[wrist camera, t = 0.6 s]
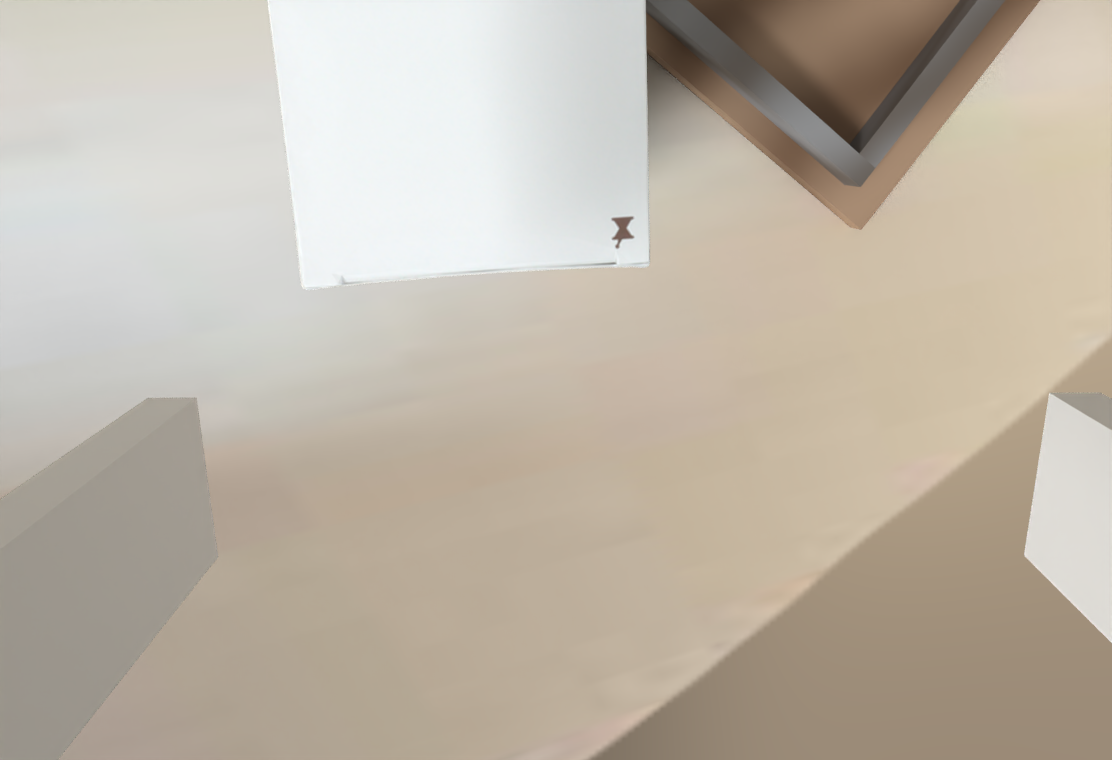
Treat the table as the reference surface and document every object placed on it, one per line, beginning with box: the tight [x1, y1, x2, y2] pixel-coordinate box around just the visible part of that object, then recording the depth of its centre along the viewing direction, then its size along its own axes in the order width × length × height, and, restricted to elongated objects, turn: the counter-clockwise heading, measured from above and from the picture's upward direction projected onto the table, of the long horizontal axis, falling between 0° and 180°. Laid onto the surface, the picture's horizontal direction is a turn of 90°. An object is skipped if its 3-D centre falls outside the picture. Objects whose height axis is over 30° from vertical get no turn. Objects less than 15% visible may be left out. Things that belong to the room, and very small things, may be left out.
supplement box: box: [267, 0, 650, 290], centre depth 30 cm, size 10×9×17 cm
